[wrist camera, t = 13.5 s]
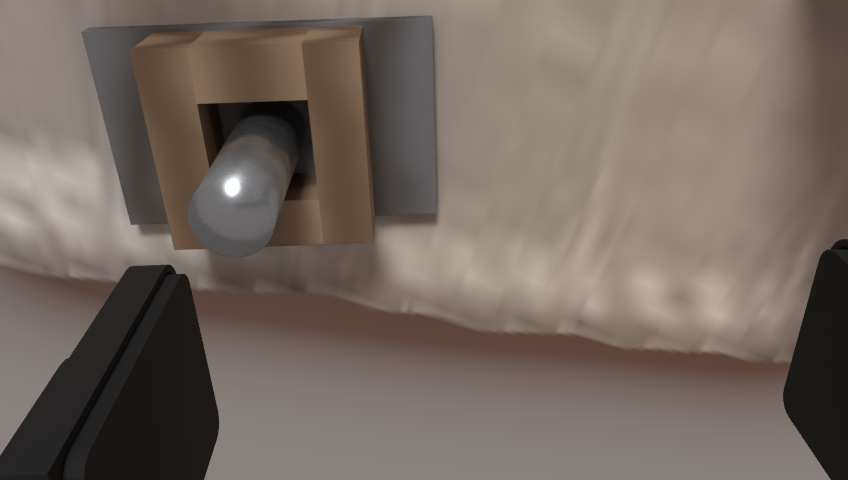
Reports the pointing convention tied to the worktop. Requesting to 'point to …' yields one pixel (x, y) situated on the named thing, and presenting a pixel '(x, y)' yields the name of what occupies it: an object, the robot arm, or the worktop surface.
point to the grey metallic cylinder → (248, 180)
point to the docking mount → (274, 81)
